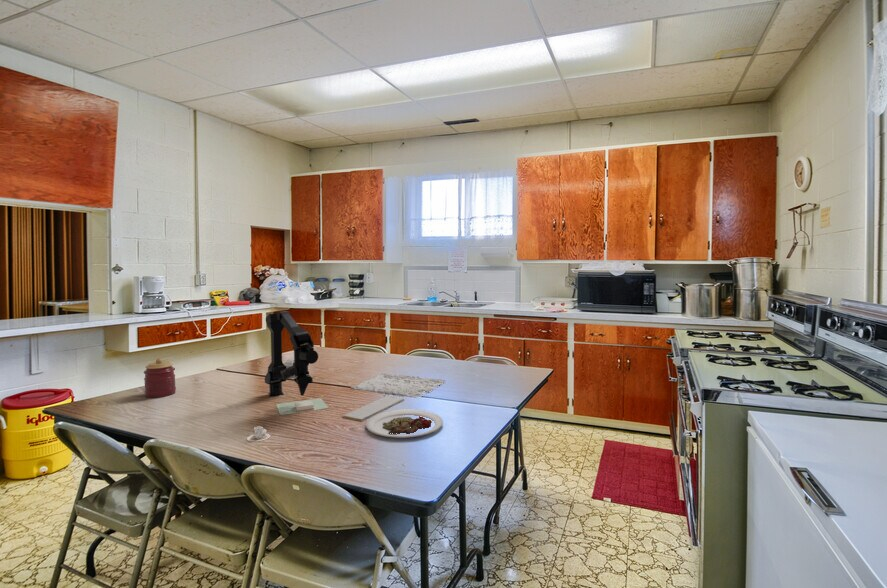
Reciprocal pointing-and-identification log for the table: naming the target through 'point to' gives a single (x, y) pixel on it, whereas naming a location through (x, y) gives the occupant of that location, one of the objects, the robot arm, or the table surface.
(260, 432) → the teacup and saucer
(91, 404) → the table surface
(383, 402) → the baseboard
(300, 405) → the tile
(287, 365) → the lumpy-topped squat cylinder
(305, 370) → the robot arm
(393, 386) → the carpet tile
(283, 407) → the mat
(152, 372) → the canister
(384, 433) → the plated food
